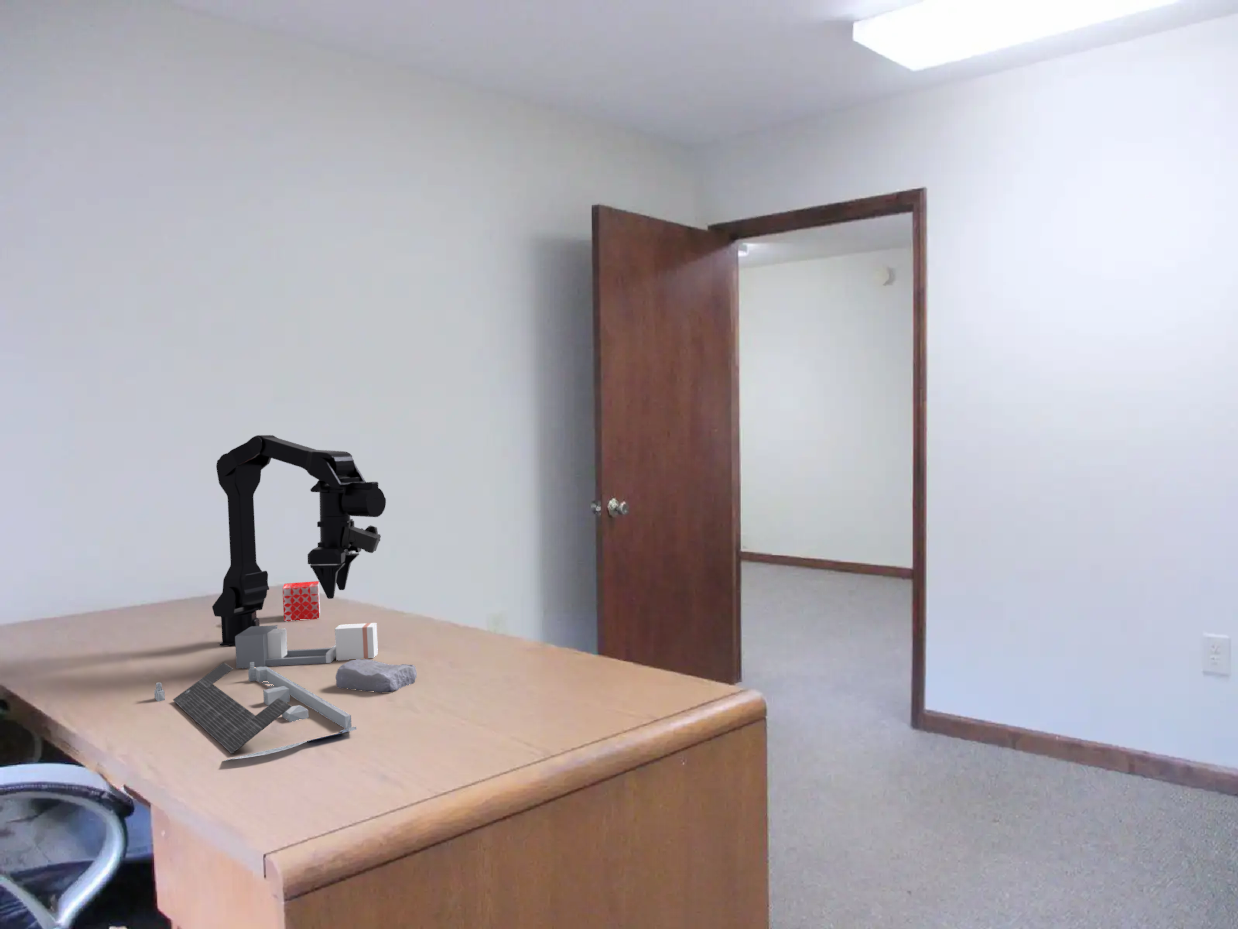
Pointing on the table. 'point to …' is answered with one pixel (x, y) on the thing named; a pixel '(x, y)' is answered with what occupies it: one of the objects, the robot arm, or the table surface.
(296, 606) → the red patterned cube
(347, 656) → the white banded block
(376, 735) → the table surface
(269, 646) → the grey frame stand
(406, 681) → the stone block
